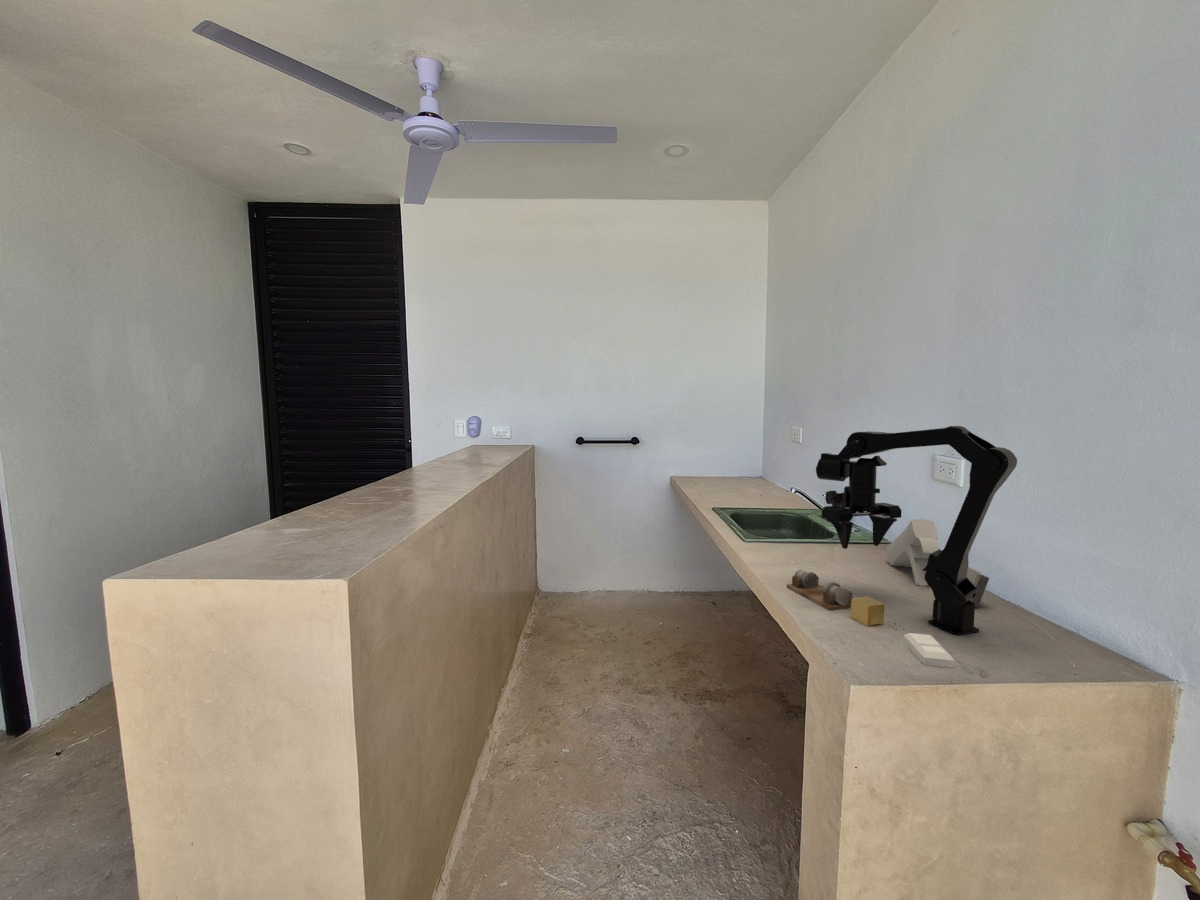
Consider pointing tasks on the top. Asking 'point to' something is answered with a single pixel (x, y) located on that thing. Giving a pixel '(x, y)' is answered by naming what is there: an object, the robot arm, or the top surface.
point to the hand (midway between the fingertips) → (860, 546)
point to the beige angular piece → (914, 548)
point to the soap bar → (928, 650)
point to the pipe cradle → (820, 591)
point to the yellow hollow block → (867, 611)
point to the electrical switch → (977, 584)
